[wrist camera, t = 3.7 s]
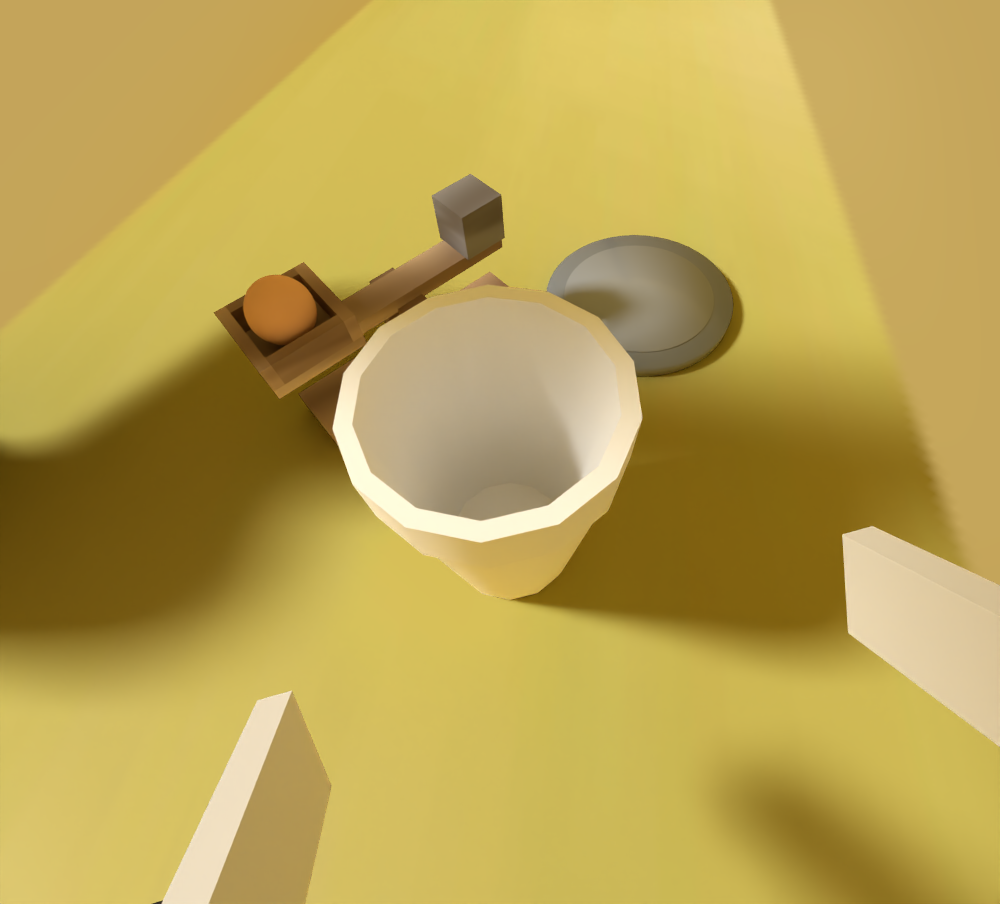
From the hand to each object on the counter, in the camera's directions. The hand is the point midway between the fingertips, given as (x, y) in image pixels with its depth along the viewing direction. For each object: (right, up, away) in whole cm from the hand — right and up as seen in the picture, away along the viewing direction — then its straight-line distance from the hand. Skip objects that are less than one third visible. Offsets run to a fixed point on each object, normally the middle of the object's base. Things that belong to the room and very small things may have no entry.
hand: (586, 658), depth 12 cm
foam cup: (-1, 0, +15) cm, 15 cm away
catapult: (-7, +11, +22) cm, 25 cm away
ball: (-12, +12, +12) cm, 21 cm away
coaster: (+7, +15, +23) cm, 28 cm away
